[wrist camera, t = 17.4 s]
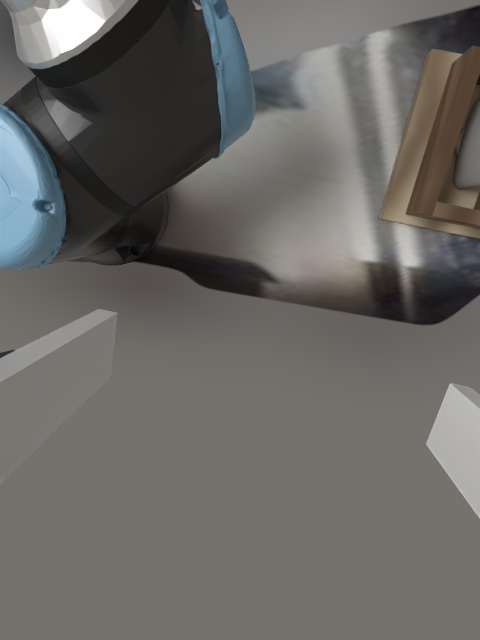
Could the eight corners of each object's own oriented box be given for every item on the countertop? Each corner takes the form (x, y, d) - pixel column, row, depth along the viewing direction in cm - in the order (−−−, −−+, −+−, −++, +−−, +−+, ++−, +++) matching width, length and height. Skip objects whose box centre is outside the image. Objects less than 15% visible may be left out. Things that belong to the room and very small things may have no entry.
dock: (378, 218, 45) (393, 218, 39) (426, 54, 40) (450, 28, 34) (489, 241, 44) (519, 243, 39) (550, 78, 39) (594, 56, 34)
